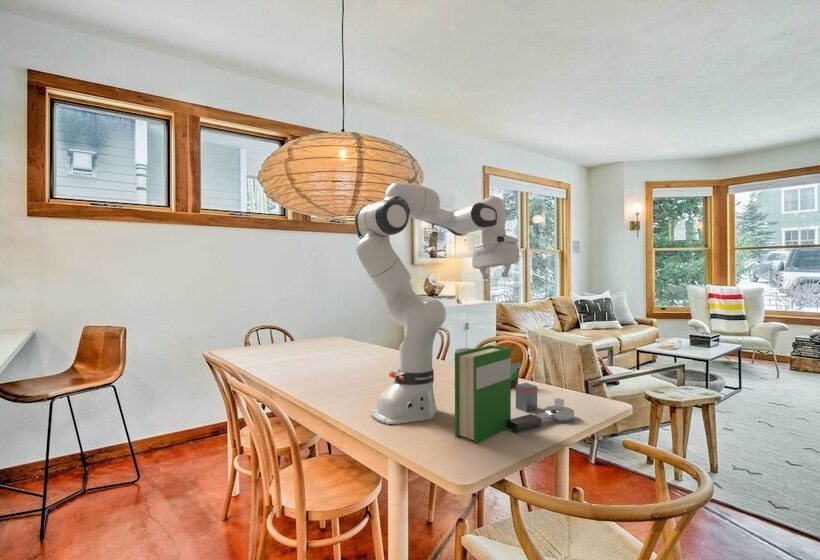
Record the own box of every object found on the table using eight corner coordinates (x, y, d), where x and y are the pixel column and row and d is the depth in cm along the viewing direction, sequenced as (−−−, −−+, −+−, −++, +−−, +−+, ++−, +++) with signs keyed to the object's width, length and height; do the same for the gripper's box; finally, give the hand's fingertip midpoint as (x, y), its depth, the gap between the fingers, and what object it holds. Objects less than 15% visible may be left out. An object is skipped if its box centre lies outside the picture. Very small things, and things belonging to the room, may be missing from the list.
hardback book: (476, 444, 119) (476, 356, 119) (455, 437, 125) (454, 353, 124) (510, 427, 132) (510, 348, 131) (489, 421, 137) (489, 345, 137)
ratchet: (523, 435, 125) (523, 415, 125) (501, 426, 133) (501, 406, 133) (580, 419, 138) (580, 400, 138) (557, 411, 146) (557, 393, 146)
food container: (488, 387, 175) (488, 362, 175) (490, 383, 181) (490, 359, 181) (519, 390, 171) (519, 364, 171) (521, 386, 177) (521, 361, 176)
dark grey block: (526, 412, 145) (526, 388, 145) (515, 408, 150) (515, 384, 149) (537, 409, 148) (537, 386, 148) (526, 405, 152) (526, 382, 152)
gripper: (468, 244, 169) (468, 280, 168) (509, 235, 153) (511, 275, 152) (479, 246, 173) (480, 281, 171) (521, 238, 157) (522, 276, 155)
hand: (495, 278), depth 161 cm, fingers open, 8 cm apart
